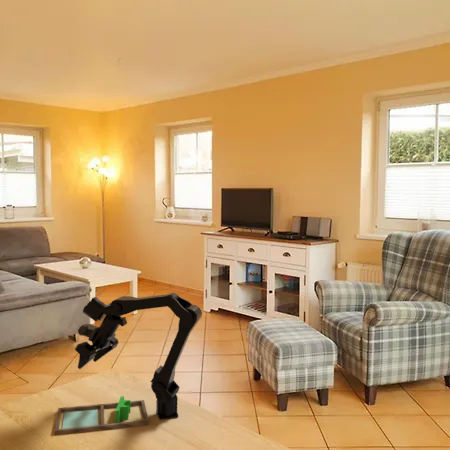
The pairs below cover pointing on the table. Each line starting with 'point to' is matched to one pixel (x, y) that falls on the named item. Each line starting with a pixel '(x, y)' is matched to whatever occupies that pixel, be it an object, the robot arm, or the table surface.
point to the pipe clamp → (122, 410)
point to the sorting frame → (93, 418)
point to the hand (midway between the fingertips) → (86, 364)
